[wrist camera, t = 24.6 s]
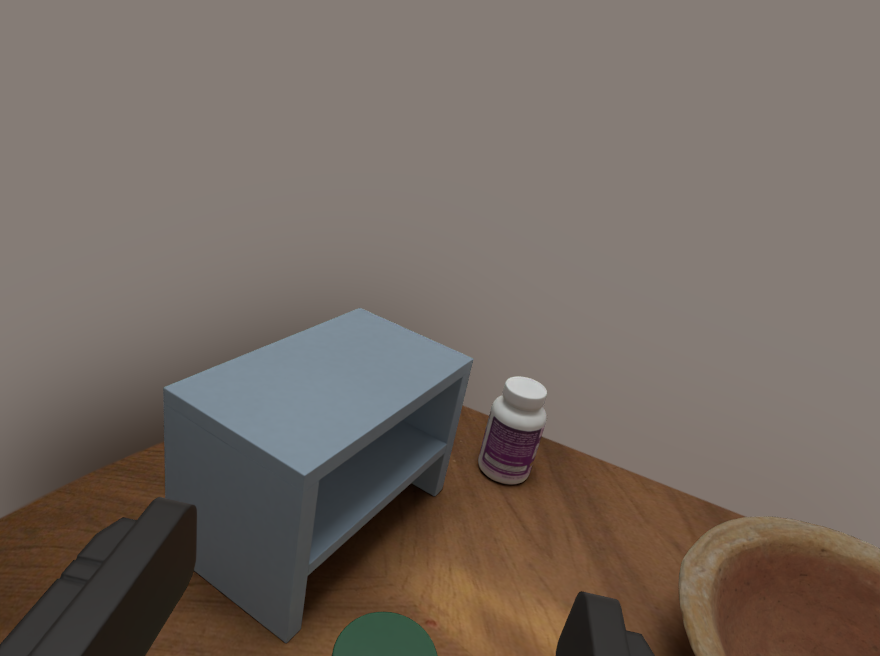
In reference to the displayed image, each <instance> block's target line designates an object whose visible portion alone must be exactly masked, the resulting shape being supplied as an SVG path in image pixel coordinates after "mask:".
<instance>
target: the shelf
mask: <svg viewBox="0 0 880 656" xmlns="http://www.w3.org/2000/svg"><path fill="white" fill-rule="evenodd" d="M472 363H473V358H471V357H469V356H466V355H464V354H462V353H460V352H457V351H455V350H453V349H451V348H448V347H446V346H444V345H442V344H439V343H437V342H435V341H433V340H431V339H428V338H426V337H424V336H421V335H419V334H417V333H415V332H413V331H411V330H408V329H406V328H404V327H401V326H399V325H397V324H395V323H393V322H390V321H388V320H386V319H384V318H381V317H379V316H377V315H375V314H373V313H370V312H368V311H366V310H363V309H361V308H359V309H356V310H354V311H351V312H349V313H346V314H344V315H341V316H339V317H336V318H334V319H331V320H329V321H326V322H324V323H321V324H319V325H317V326H314V327H312V328H309V329H307V330H304V331H302V332H299V333H297V334H294V335H292V336H289V337H287V338H284V339H282V340H279V341H277V342H275V343H272V344H270V345H267V346H265V347H262V348H260V349H258V350H255V351H252V352H250V353H248V354H245V355H242V356H240V357H238V358H235V359H233V360H230V361H228V362H225V363H223V364H220V365H218V366H215V367H213V368H210V369H208V370H206V371H203V372H201V373H198V374H196V375H193V376H191V377H188V378H186V379H183V380H181V381H178V382H176V383H173V384H171V385H168V386H166V387H164V445H165V498H166V499H170V500H175V501H179V502H184V503H188V504H192V505H195V506H196V509H197V550H196V563H195V567H194V571H195V572H197V573H198V574H199V575H200V576H202V577H203V578H204V579H205V580H207V581H208V582H209V583H210V584H212V585H213V586H214V587H215V588H217V589H218V590H219V591H221V592H222V593H223V594H224V595H226V596H227V597H228V598H229V599H231V600H232V601H233V602H234V603H236V604H237V605H238V606H239V607H241V608H242V609H243V610H244V611H246V612H247V613H248V614H250V615H251V616H252V617H253V618H255V619H256V620H257V621H258V622H260V623H261V624H262V625H263V626H265V627H266V628H267V629H268V630H270V631H271V632H272V633H274V634H275V635H276V636H277V637H279V638H280V639H281V640H282V641H284V642H285V643H287V642H288V641H289V640H290V639H291V638H292V637H293V636H294V635H295V634H296V633H297V632H298V631H299V630H300V629H301V624H302V616H303V608H304V600H305V592H306V584H307V576H308V575H309V574H310V573H311V572H313V571H314V570H315V569H316V568H317V567H318V566H319V565H320V564H321V563H323V562H324V561H325V560H326V559H327V558H328V557H329V556H330V555H332V554H333V553H334V552H335V551H336V550H337V549H338V548H339V547H340V546H342V545H343V544H344V543H345V542H346V541H347V540H348V539H349V538H350V537H352V536H353V535H354V534H355V533H356V532H357V531H358V530H359V529H361V528H362V527H363V526H364V525H365V524H366V523H367V522H368V521H369V520H371V519H372V518H373V517H374V516H375V515H376V514H377V513H378V512H379V511H381V510H382V509H383V508H384V507H385V506H386V505H387V504H388V503H390V502H391V501H392V500H393V499H394V498H395V497H396V496H397V495H398V494H400V493H401V492H402V491H403V490H404V489H405V488H406V487H407V486H408V485H410V484H411V483H412V484H414V485H415V486H417V487H419V488H421V489H422V490H424V491H426V492H427V493H429V494H431V495H433V496H436V495H437V494H438V493H439V492H440V491H441V490H442V488H443V484H444V480H445V476H446V471H447V467H448V463H449V459H450V455H451V451H452V446H453V442H454V438H455V434H456V430H457V425H458V421H459V417H460V413H461V409H462V405H463V400H464V396H465V392H466V388H467V384H468V380H469V375H470V370H471V367H472Z"/></svg>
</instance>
